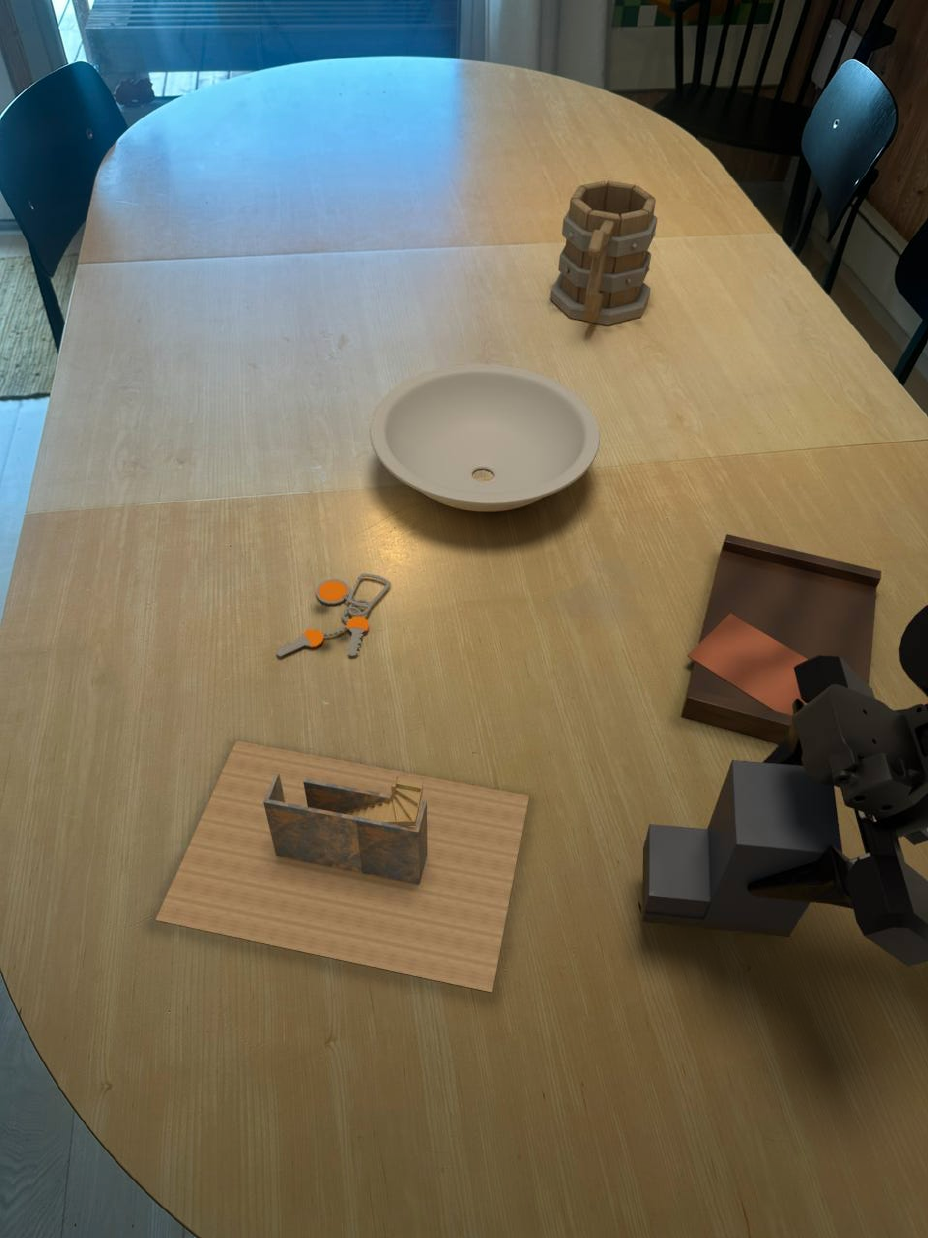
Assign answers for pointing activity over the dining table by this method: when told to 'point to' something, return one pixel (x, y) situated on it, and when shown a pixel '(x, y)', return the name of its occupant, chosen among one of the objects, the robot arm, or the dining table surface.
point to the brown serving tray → (775, 633)
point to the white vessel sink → (484, 435)
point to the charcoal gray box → (740, 852)
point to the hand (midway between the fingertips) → (742, 842)
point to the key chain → (335, 594)
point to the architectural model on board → (353, 864)
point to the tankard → (606, 253)
